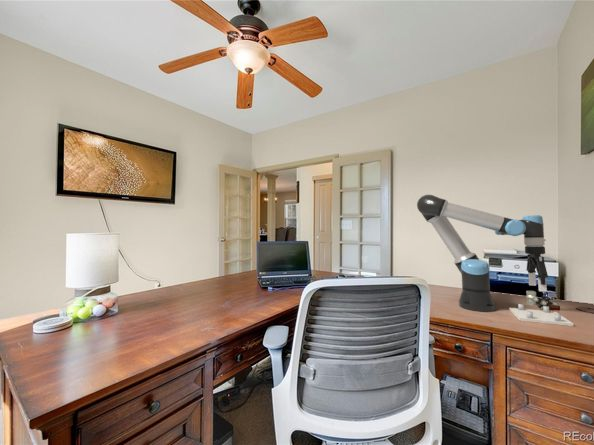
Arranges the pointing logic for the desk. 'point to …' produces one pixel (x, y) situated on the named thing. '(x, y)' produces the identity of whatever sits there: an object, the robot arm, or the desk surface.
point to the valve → (537, 299)
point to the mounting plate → (539, 315)
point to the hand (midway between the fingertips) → (537, 288)
